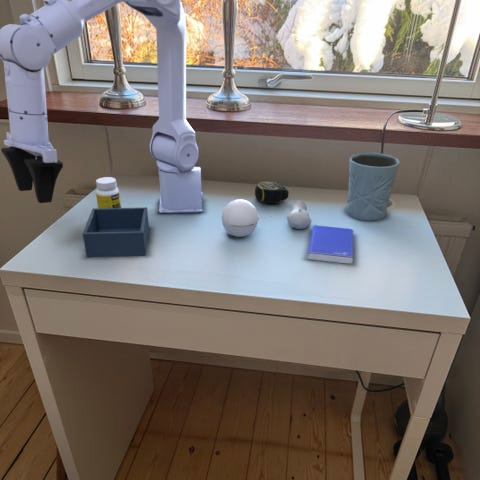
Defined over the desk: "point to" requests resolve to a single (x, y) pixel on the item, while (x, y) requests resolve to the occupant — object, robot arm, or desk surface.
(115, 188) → the supplement bottle
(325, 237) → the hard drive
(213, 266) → the desk surface
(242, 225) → the seamed sphere
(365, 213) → the embossed planter pot
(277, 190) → the tape measure
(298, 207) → the pale two-lobed sculpture
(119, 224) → the desk bin
